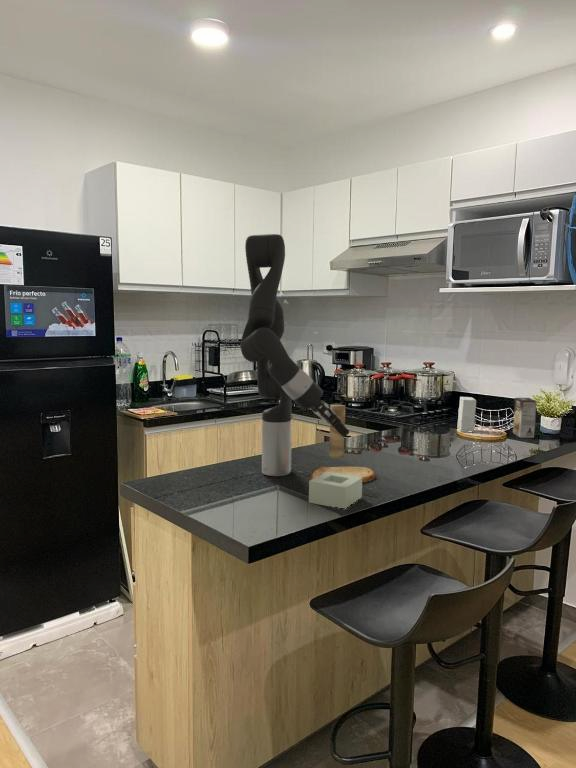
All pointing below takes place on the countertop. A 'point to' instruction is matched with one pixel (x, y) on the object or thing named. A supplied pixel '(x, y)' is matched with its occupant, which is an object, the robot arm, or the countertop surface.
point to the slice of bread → (347, 472)
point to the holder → (335, 490)
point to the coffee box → (524, 417)
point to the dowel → (337, 433)
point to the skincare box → (466, 414)
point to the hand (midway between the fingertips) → (344, 432)
